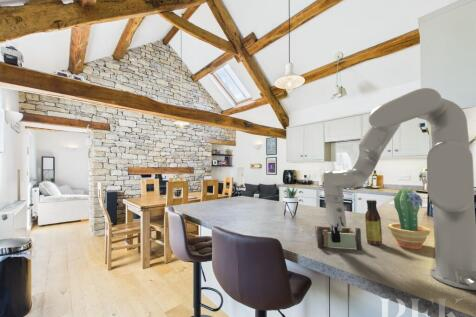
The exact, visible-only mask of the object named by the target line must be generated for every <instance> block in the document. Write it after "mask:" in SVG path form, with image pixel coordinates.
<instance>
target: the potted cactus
mask: <svg viewBox="0 0 476 317" xmlns="http://www.w3.org/2000/svg"><path fill="white" fill-rule="evenodd" d="M393 203H394V209H395V210H396V212H397V216H398V220H399V223H398V222H394V223H389V224H388V225H387V227H388V228H387V229H388V230H390V232H391V235H392V237H393V238H394V239H395V240H396V241H397V242H396V245H398V246H399V247H402V248H407V249H411V250H415V249H416V250H419V249H423V245H424V243H425V242H426V240H427V237H428V235H430V232H431V228H429V227H426V226H422V225H418V224H419V222H418V221H419V219H418V213H419V211H420V207H421V208H422V207H423V198H422V197H421V196H420V195H419V194H417V192H414V191H413V190H412V189H409V188H406V189H399V191H397V193H396V194H395V196H394V197H393Z"/></svg>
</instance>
